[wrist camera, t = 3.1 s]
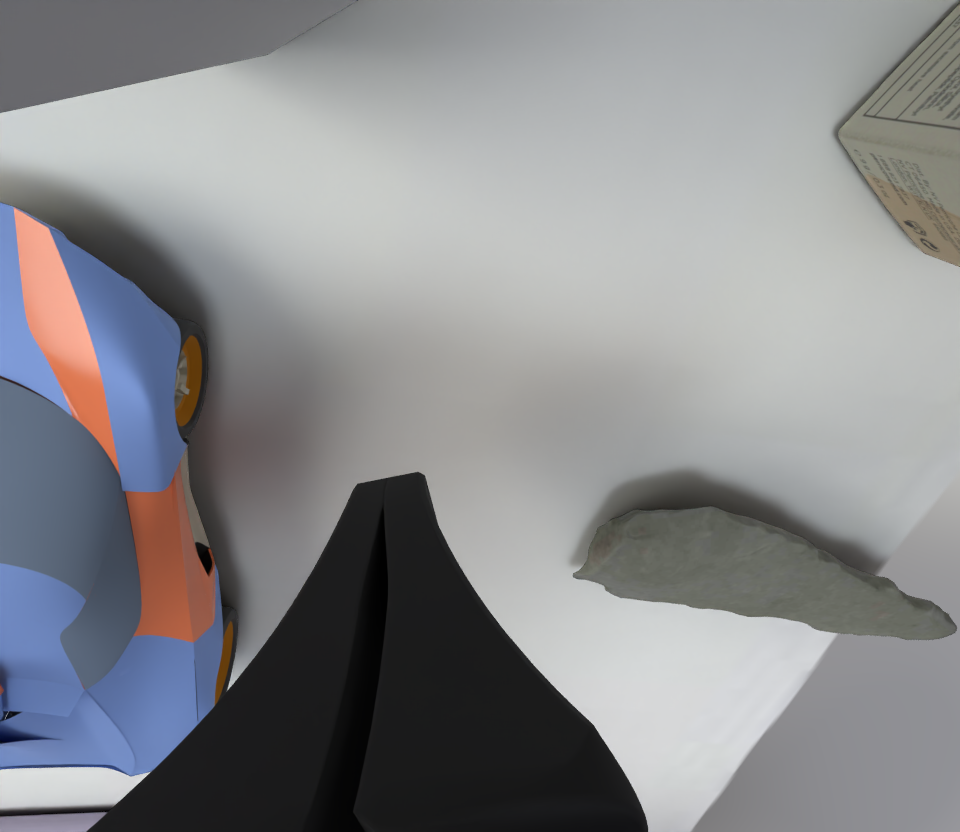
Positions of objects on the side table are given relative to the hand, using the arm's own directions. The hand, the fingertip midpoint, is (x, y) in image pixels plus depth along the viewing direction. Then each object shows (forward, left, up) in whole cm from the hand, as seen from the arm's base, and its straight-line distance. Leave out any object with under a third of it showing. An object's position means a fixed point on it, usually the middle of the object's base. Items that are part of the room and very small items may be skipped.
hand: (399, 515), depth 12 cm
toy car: (0, +8, -4) cm, 9 cm away
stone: (-6, -11, -2) cm, 13 cm away
